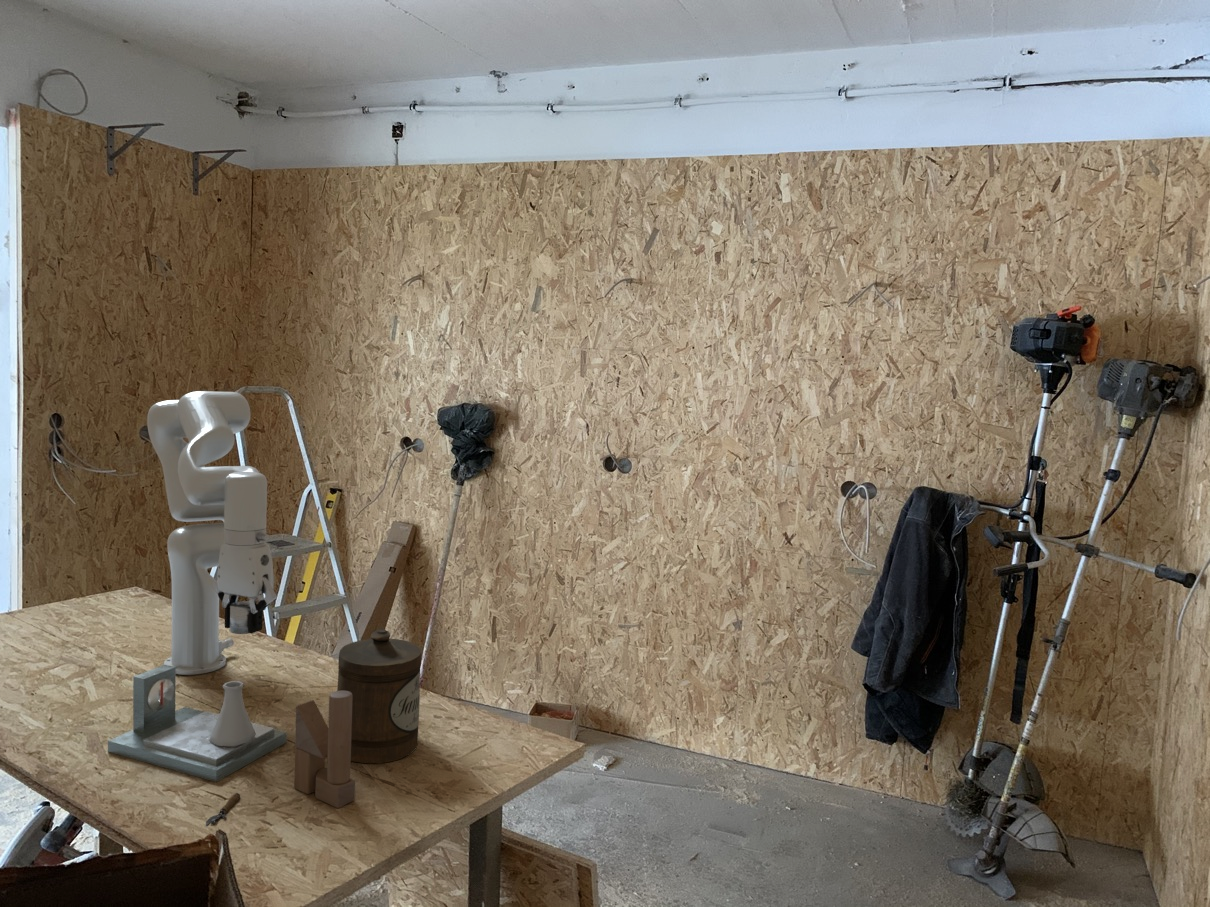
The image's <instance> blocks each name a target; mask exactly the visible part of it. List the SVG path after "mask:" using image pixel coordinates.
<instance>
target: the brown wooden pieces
mask: <svg viewBox="0 0 1210 907" xmlns="http://www.w3.org/2000/svg"><path fill="white" fill-rule="evenodd" d="M328 697H329V698H328V723H327V722H326V720H325V719H324V717H323V715H322V713H321V711H320V709H319V707H318V705H317V703H316V702H315V700H314V699H312V700H310V701H307V702H304V703H300V704H298V705H296V706H295V733H294V735H295V736H294V740H295V741H294V746H295V749H294V777H293V778H294V782H293V783H294V785H293V787H294V789H295V790H297V791H299V792H302V793H304V794H305V795H309V794H312V793H315V799H317V800H319V801H321V802H323V803H326V804H328V805H330V806H332V807H334V808H336V809H340V808H342V807H344V806H346V805H348V804H349V803H352V802H353V801H355V794H356V780H355V779H353V778H351V762H352V761H351V733H352V700H353V695H352V693H351V692H349V691H344V690H341V691H337V690H335V691H333V692H331V693H330V694H329V696H328ZM326 759H327V765H326Z"/></svg>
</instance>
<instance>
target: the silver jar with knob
mask: <svg viewBox="0 0 1210 907" xmlns="http://www.w3.org/2000/svg"><path fill="white" fill-rule="evenodd" d="M256 603H257V604H258V602H256ZM249 613H251V608H250V603H249V600H247V601H246V600H243V601H237V602H235V603H232V604H231V605H230V628H229V632H230V633H232V634H234V635H247V634H250V633H249V632H248V614H249Z"/></svg>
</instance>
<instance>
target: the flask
mask: <svg viewBox="0 0 1210 907" xmlns="http://www.w3.org/2000/svg"><path fill="white" fill-rule="evenodd" d="M244 686H245V685H244V682H242V681H241V680H231V681H228V682H225V683H224V684H223V685H222V688H223V690H224V697H223V703H222V706H221V708H220V712H219V713H218V714H219V717H218V719H217V722H216V724H215V727H214V729H213V731H212V734H211V736H210V739H209V741H210V742H212V743H214V744H216V745H217V746H232V747H235V746H238V745H241V744H244V743H247V742H250V741H251V739H252V738H253V737H254V736H255V735H256V733H255V731H254V728H253V726H252V724H251V723H252V721H251V719H250V716H249V714H248V712H247V708H246V706H245V704H244V698H243V687H244Z"/></svg>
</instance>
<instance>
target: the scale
mask: <svg viewBox="0 0 1210 907" xmlns="http://www.w3.org/2000/svg"><path fill="white" fill-rule="evenodd" d="M176 676H177V674H176V667H173V666H169V665H161V666H158V667H155V668H153V669H152V668H151V669H150V670H148V671H143V672H142V673H140V674H137V675H134V676H132V677H133V678H132V679H133V682H132V684H133V690H132V695H133V696H132V698H133V700H132V702H133V705H132V706H133V708H132V709H133V710H132V711H133V712H132V714H133V715H132V716H133V717H132V718H133V719H132V720H133V721H132V722H133V725H132V729H131V730H129V731H126V732H124V733H122V734H120V735H118V736H116V737H113V738H111V739H108V740H107V753H111V754H115V755H119V756H121V757H124V758H125V757H126V758H128V759H132V760H136V761H140V762H144V763H148V764H150V765H155V766H158V767H161V768H165V769H168V770H172V771H176V772H180V773H183V774H187V775H190V776H194V777H195V778H196V777H197V778H201V779H204V780H207V781H210V782H214V783H215V782H216V783H217V782H219V781H220V780H222V779H224V778H227V777H228V776H230V775H231V774H233V773H235V772H236V771H238V770H240V769H242V768H244V767H245V766H248V765H249V764H250V763H252V762H255V761H257V760H258V759H260V758H262V757H263V756H265V755H266V754H268V753H270V752H272V751H274V750H275V749H277V748H280V747H281V746H283V745H285V744H287V743H288V742H287V738H288V737H287V736H288V734H287V731H284V730H281V729H275V727H271V726H267V725H265V724H264V725H263V724H258V723H255V722H251V724H252V726H253V728H254V731H255V733H256V735H255V736H254V737H253V738H252V739H251V741H250V742H247V743H244V744H241V745H238V746H235V747H232V746H217V745H216V744H214V743H212V742H210V741H209V739H210V736H211V734H212V731H213V729H214V727H215V724H216V722H217V719H218V717H219V714H220V713H214V712H212V711H211V712H210V711H205V710H204V711H203V710H199V709H195V708H190V707H187V706H184V707H182V708H181V707H180V708H179V709H177V710H176V683H177V682H176Z"/></svg>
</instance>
